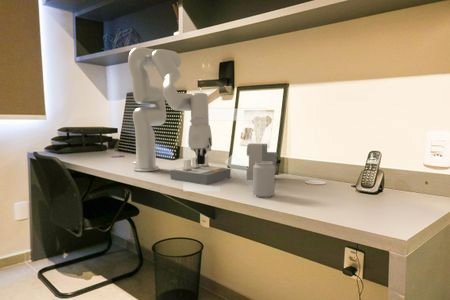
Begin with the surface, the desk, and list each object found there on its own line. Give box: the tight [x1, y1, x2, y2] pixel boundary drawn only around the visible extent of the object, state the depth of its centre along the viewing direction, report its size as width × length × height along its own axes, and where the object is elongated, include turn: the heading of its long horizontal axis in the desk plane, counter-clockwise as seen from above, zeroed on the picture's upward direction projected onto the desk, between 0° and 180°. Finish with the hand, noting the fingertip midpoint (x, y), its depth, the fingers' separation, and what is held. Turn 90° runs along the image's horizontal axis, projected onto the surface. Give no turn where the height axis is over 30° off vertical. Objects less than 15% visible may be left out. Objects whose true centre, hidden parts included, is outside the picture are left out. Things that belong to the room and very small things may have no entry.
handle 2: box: [199, 155, 210, 166], centre depth 150 cm, size 3×3×4 cm
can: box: [252, 161, 276, 198], centre depth 114 cm, size 8×8×12 cm
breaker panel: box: [170, 165, 231, 186], centre depth 144 cm, size 20×17×4 cm
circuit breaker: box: [246, 142, 282, 181], centre depth 143 cm, size 8×14×15 cm, turn 78°
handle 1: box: [182, 158, 192, 170], centre depth 140 cm, size 3×3×4 cm
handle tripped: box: [191, 156, 201, 168], centre depth 145 cm, size 3×3×4 cm
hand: (201, 163), depth 143 cm, fingers closed
